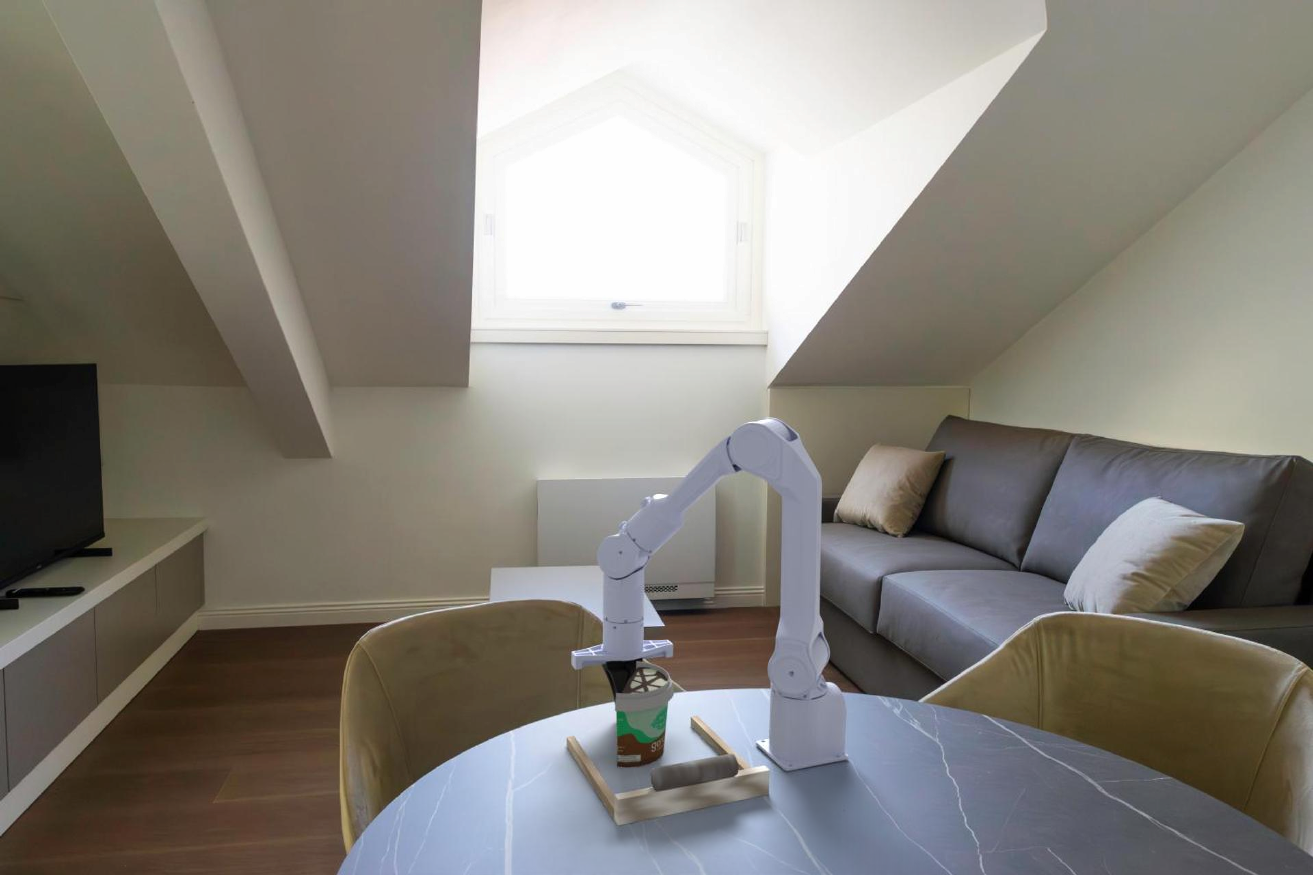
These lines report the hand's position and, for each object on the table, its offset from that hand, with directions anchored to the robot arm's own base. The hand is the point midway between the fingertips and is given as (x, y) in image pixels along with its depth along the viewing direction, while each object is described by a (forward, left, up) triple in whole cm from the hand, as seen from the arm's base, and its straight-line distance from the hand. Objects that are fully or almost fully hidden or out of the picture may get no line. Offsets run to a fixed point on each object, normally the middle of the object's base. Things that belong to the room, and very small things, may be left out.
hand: (622, 710), depth 120 cm
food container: (0, +10, -2) cm, 10 cm away
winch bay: (0, +14, -1) cm, 14 cm away
